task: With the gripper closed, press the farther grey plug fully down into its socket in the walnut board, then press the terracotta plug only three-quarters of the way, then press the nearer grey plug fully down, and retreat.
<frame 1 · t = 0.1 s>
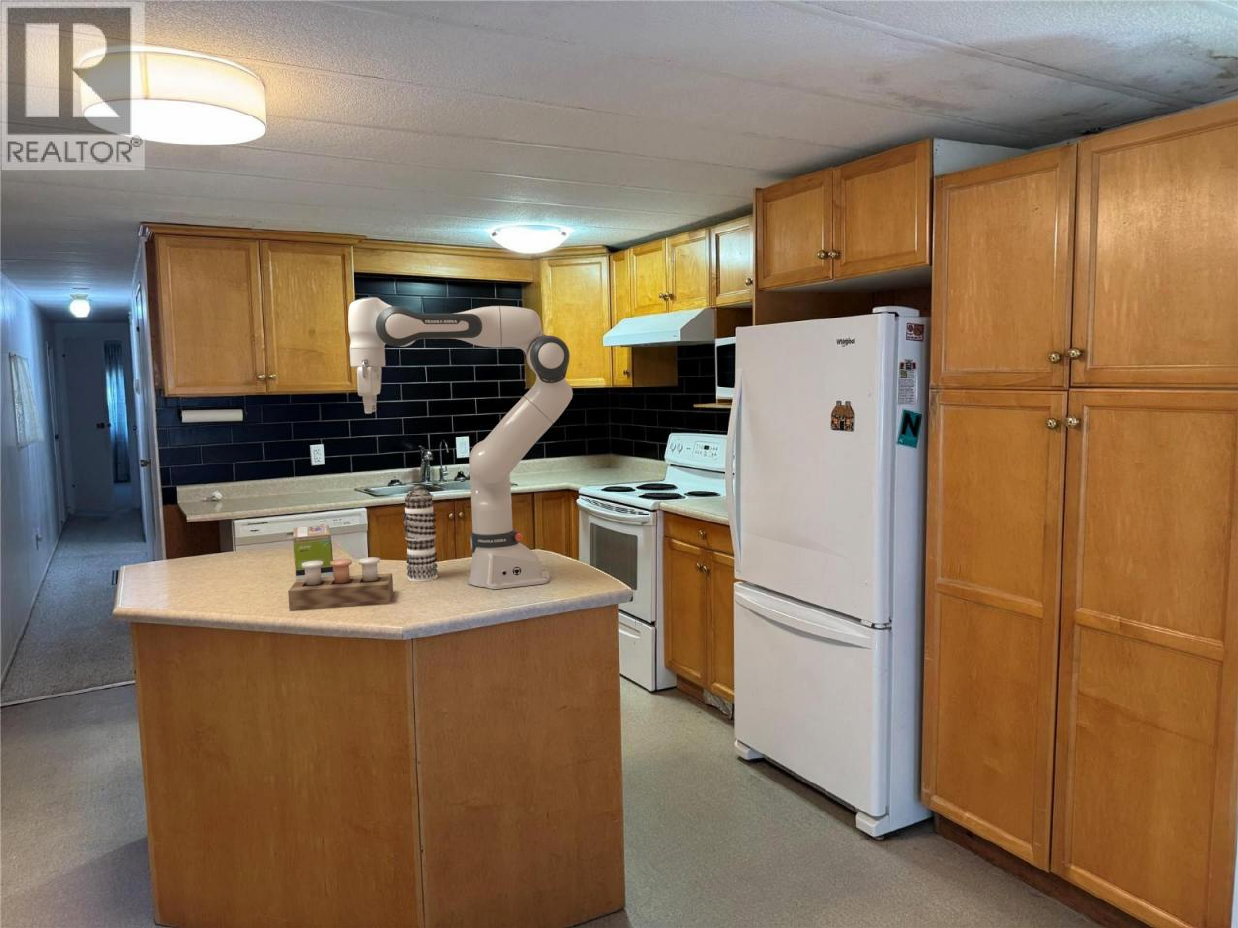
hand: (370, 412, 221), 48 cm above the countertop, fingers open, 8 cm apart
socket board: (343, 600, 216), on the countertop
grey plug 1: (313, 573, 213), point 8 cm above the countertop, slide at 0.0 cm
grey plug 2: (369, 569, 216), point 8 cm above the countertop, slide at 0.0 cm
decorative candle: (422, 578, 237), on the countertop
tea box: (315, 581, 237), on the countertop
terracotta plug: (341, 571, 215), point 8 cm above the countertop, slide at 0.0 cm
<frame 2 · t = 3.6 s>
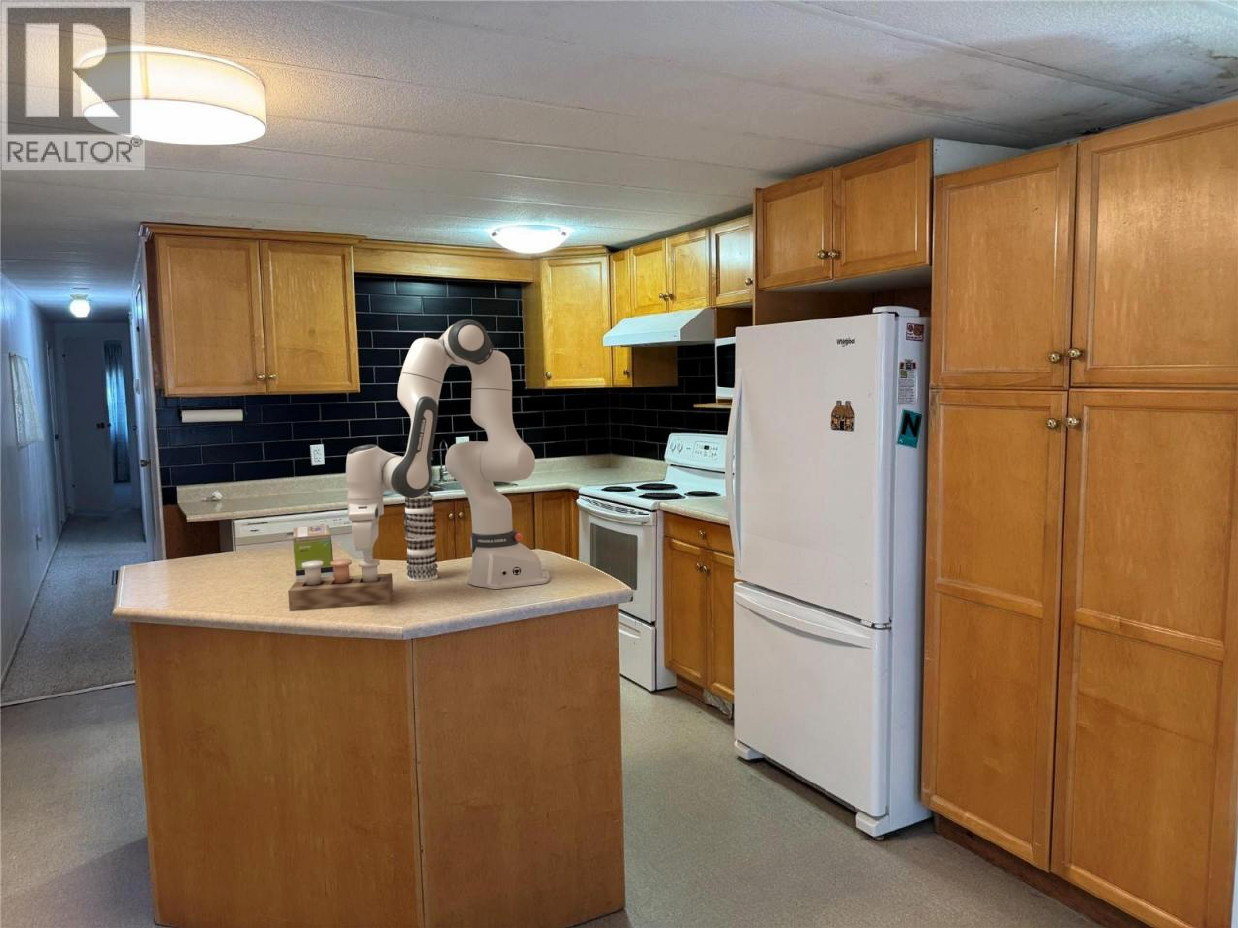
hand: (368, 561, 216), 10 cm above the countertop, fingers closed, pressing on grey plug 2
grey plug 2: (369, 571, 216), point 7 cm above the countertop, slide at 0.5 cm, touching gripper
everything else where it was.
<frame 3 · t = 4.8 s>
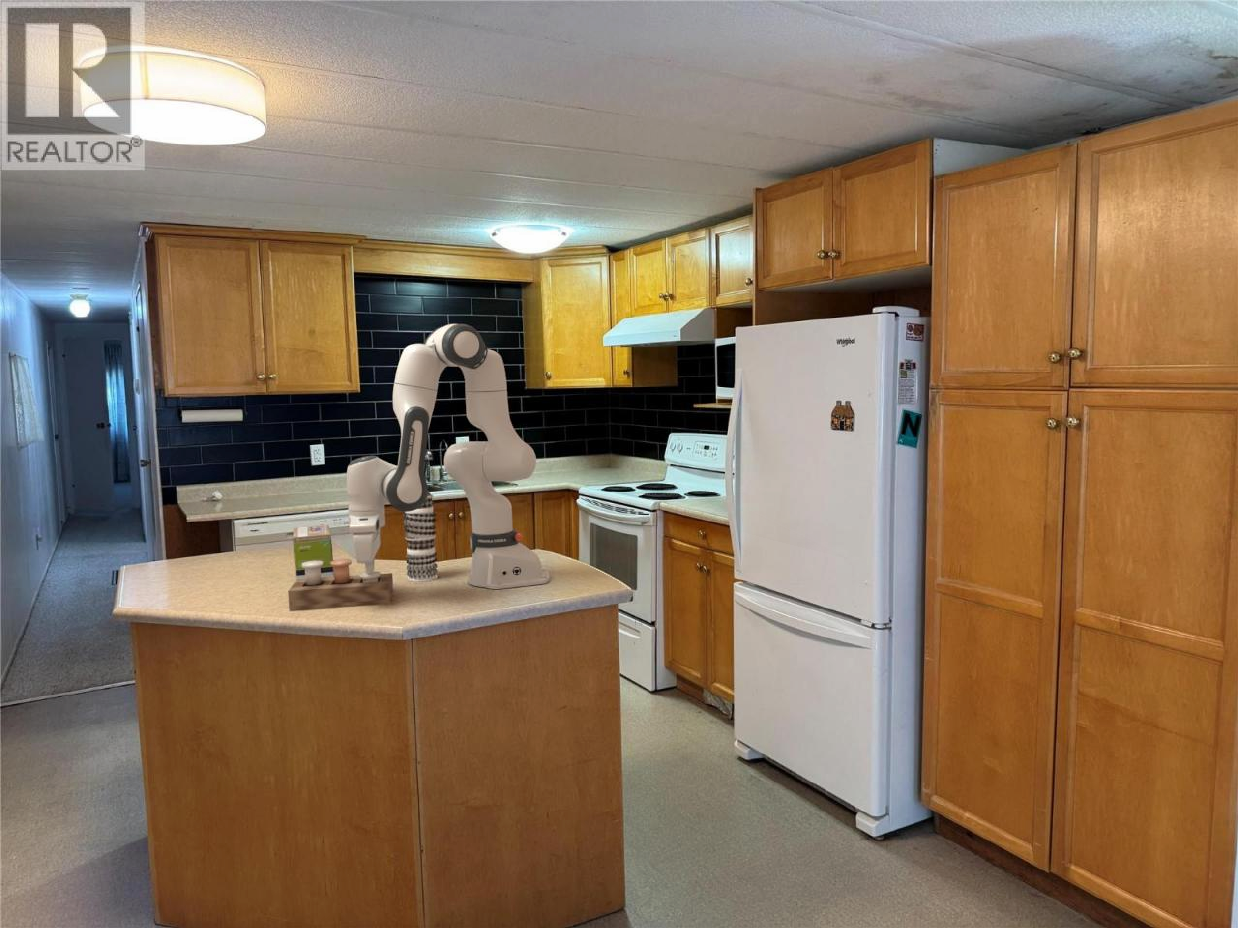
hand: (370, 572, 216), 7 cm above the countertop, fingers closed
grey plug 2: (370, 583, 216), point 4 cm above the countertop, slide at 3.8 cm
everything else where it was.
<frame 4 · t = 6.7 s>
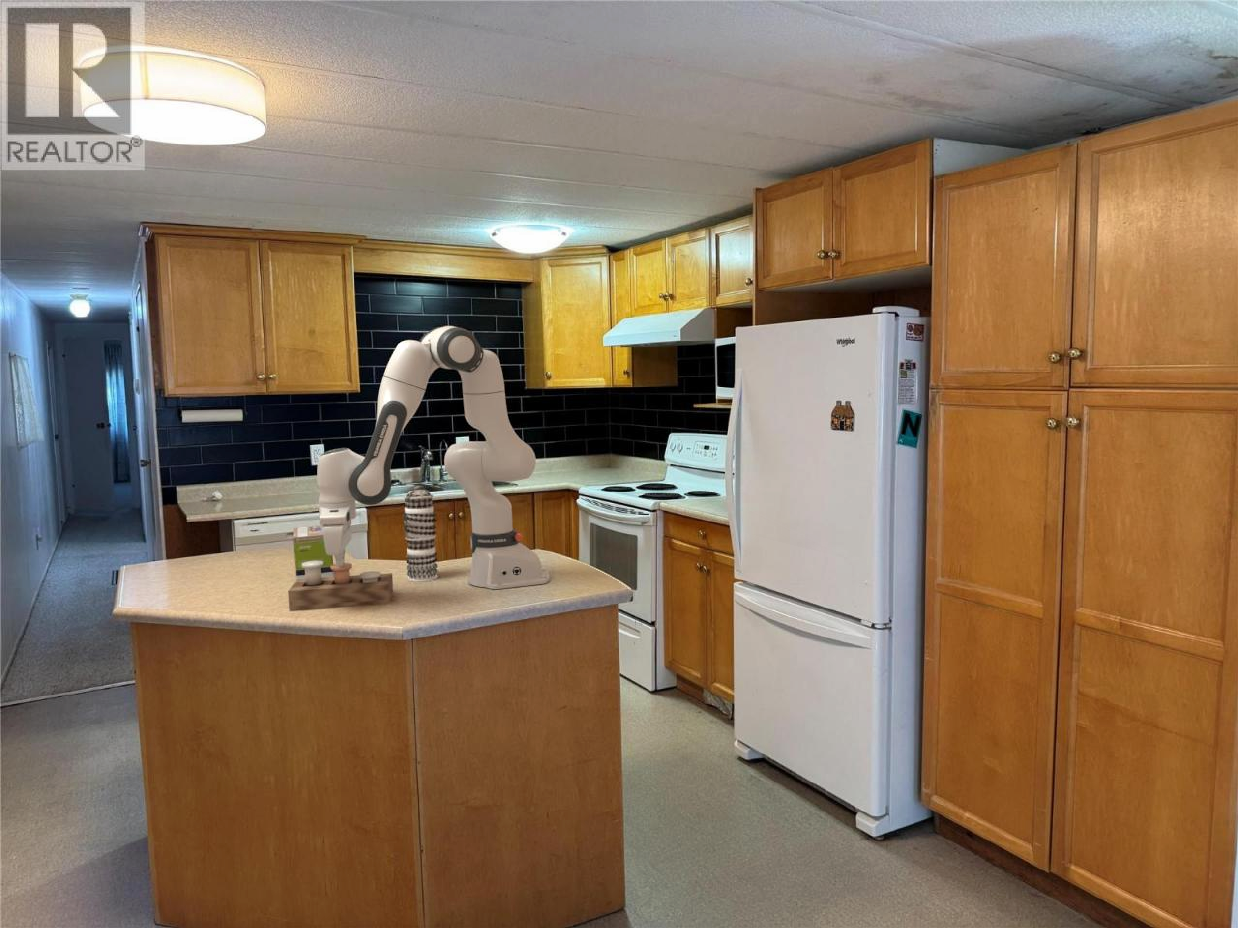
hand: (340, 565, 214), 9 cm above the countertop, fingers closed, pressing on terracotta plug
terracotta plug: (341, 575, 215), point 7 cm above the countertop, slide at 1.1 cm, touching gripper
everything else where it was.
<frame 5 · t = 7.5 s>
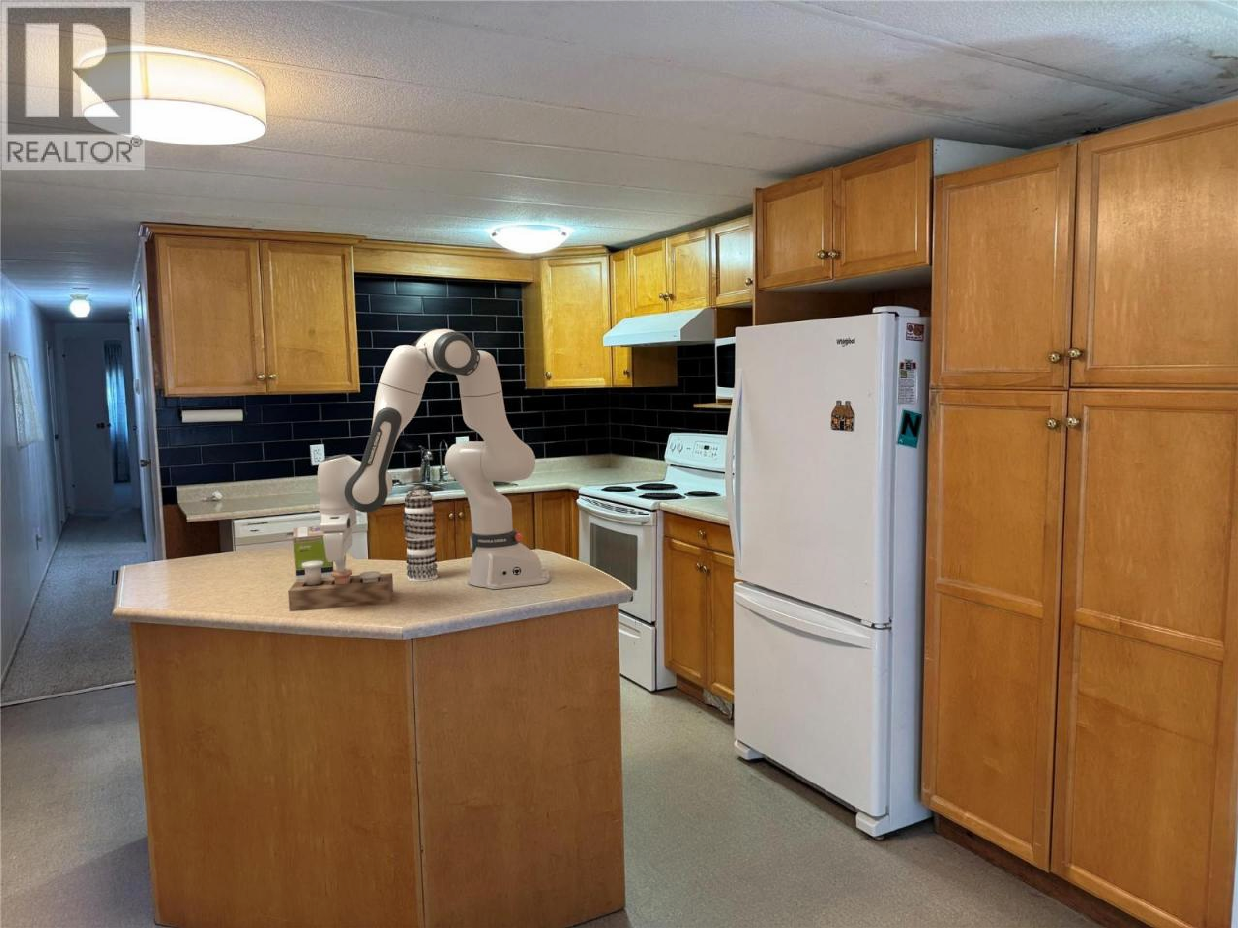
hand: (341, 571, 215), 8 cm above the countertop, fingers closed
terracotta plug: (342, 581, 215), point 5 cm above the countertop, slide at 2.8 cm
everything else where it was.
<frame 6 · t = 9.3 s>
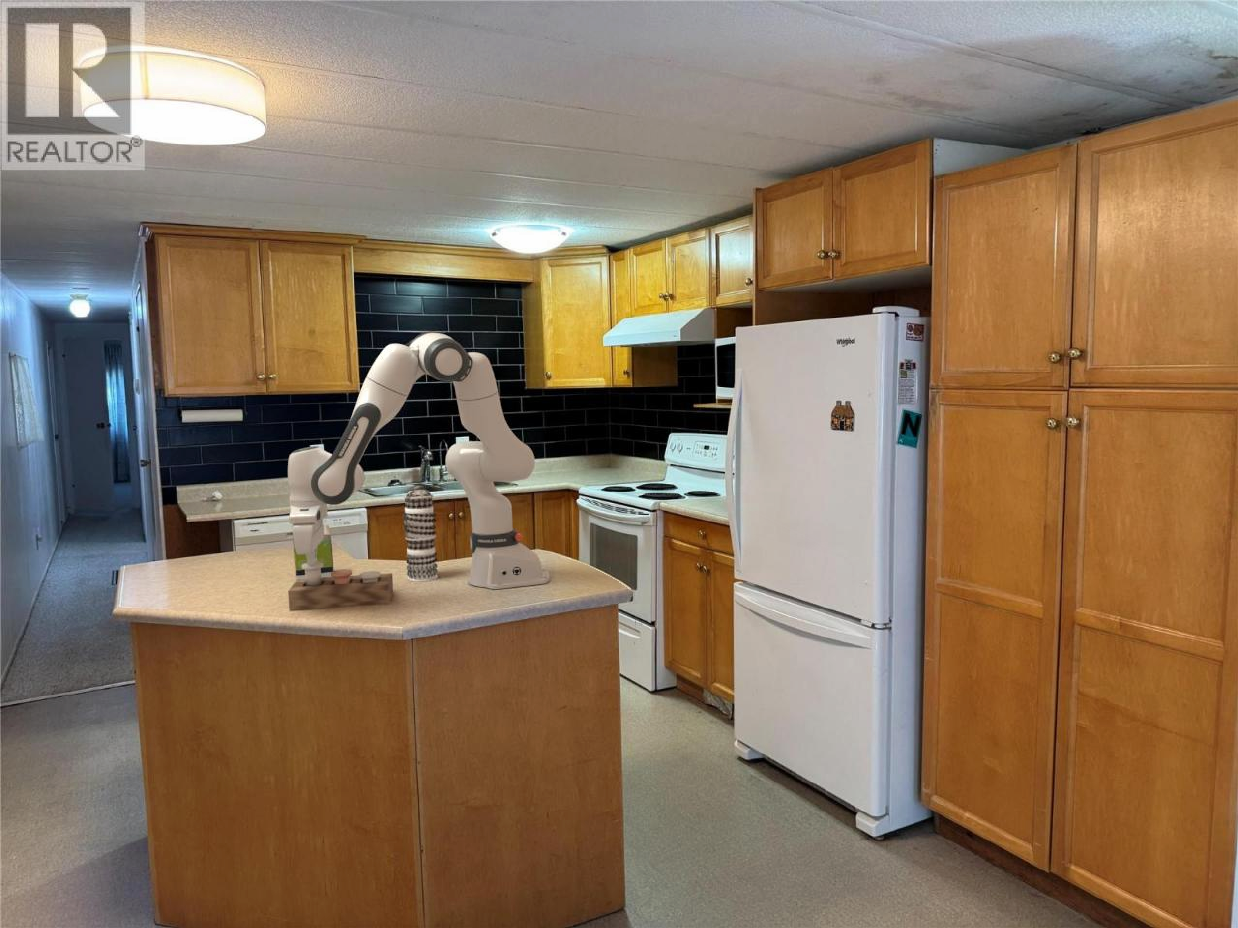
hand: (312, 564, 213), 10 cm above the countertop, fingers closed, pressing on grey plug 1
grey plug 1: (313, 574, 213), point 7 cm above the countertop, slide at 0.4 cm, touching gripper
everything else where it was.
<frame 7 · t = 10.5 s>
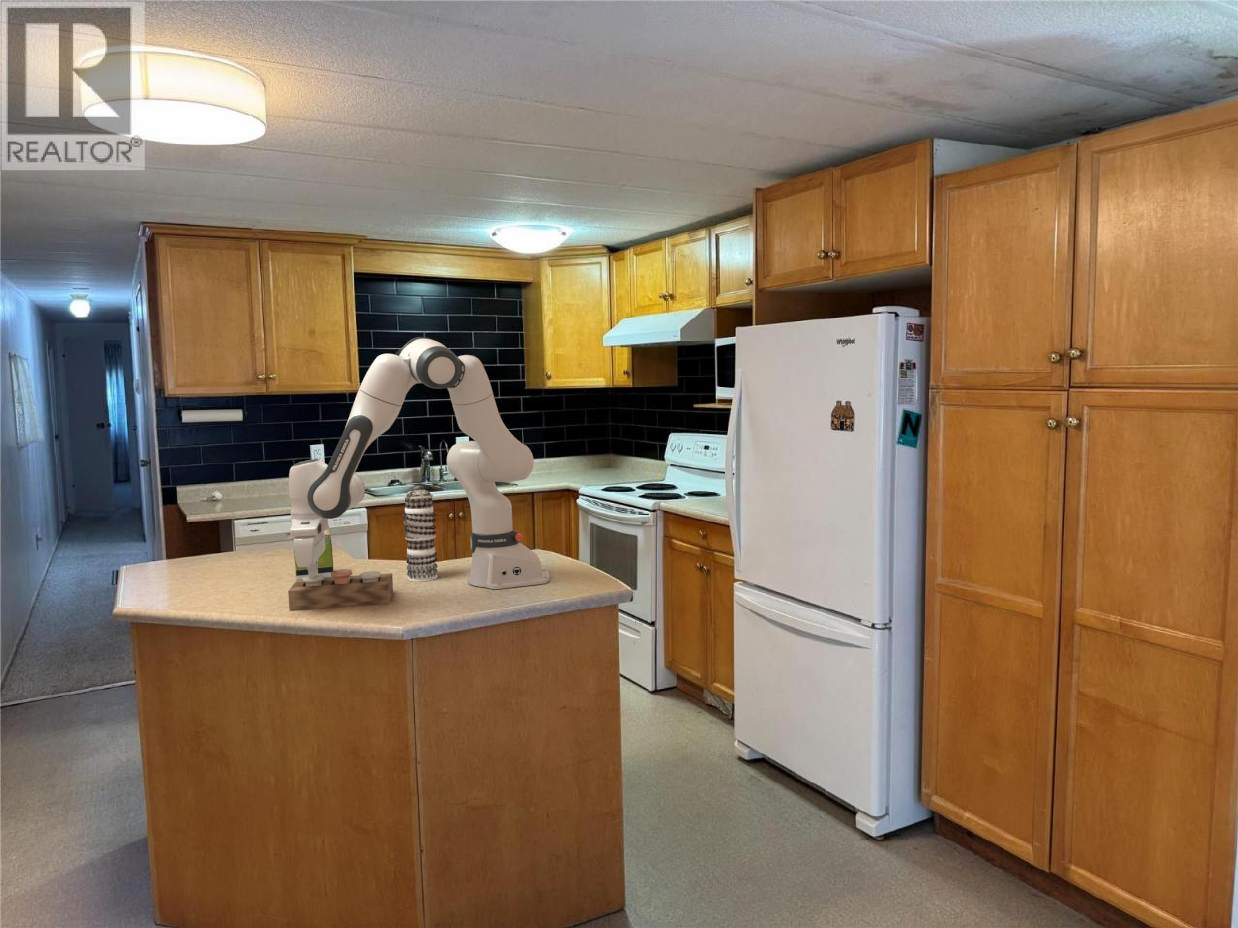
hand: (313, 576, 214), 7 cm above the countertop, fingers closed
grey plug 1: (313, 587, 214), point 4 cm above the countertop, slide at 3.8 cm
everything else where it was.
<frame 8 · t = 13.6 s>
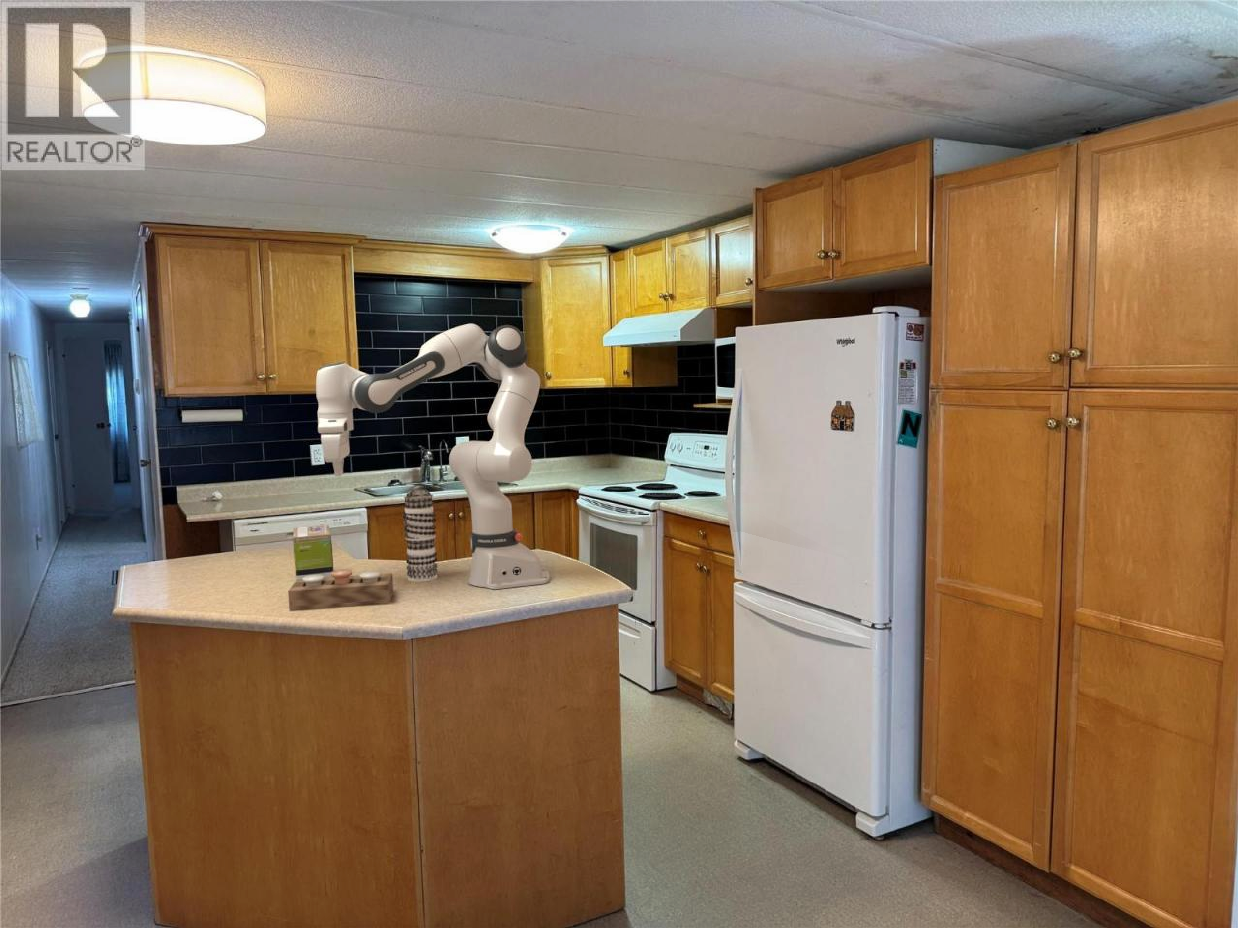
hand: (338, 475, 223), 31 cm above the countertop, fingers closed
nothing on the countertop moved.
at the end: grey plug 2 slide at 3.8 cm; terracotta plug slide at 2.8 cm; grey plug 1 slide at 3.8 cm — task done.
